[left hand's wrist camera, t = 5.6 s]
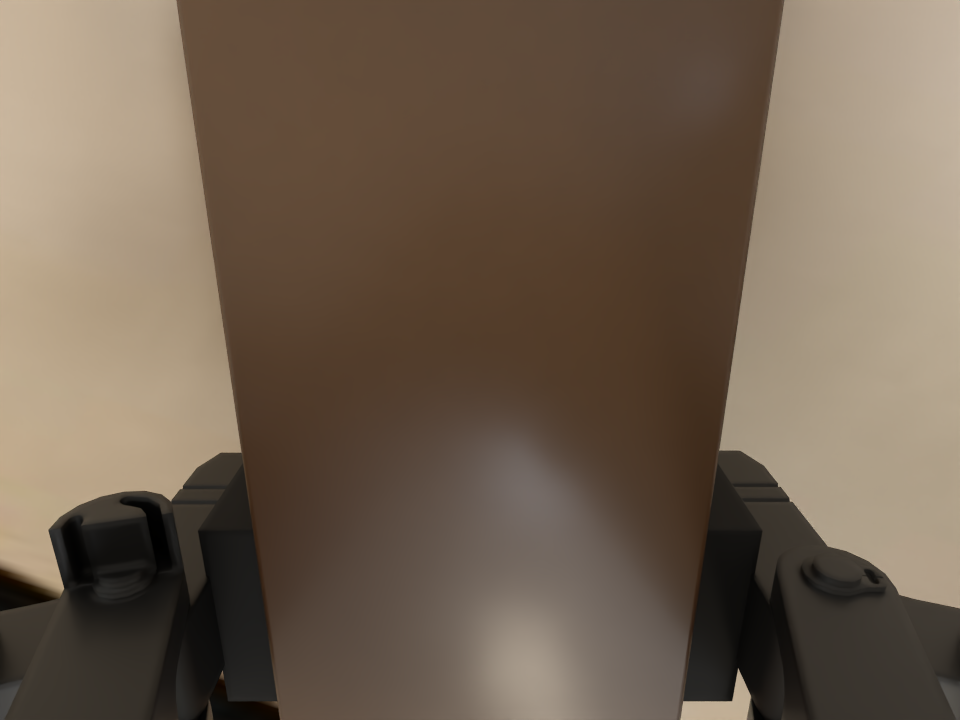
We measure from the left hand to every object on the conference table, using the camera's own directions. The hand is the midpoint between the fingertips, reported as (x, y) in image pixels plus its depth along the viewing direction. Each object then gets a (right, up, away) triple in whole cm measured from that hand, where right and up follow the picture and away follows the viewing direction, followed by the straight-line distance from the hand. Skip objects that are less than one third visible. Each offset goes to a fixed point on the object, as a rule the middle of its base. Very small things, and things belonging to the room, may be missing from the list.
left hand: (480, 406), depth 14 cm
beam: (0, -30, +12) cm, 32 cm away
